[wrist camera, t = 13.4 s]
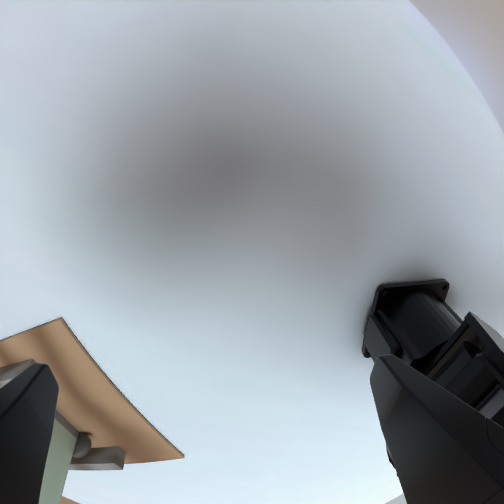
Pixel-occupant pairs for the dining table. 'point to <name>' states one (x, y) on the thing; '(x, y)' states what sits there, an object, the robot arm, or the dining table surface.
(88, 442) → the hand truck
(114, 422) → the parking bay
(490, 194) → the dining table surface
